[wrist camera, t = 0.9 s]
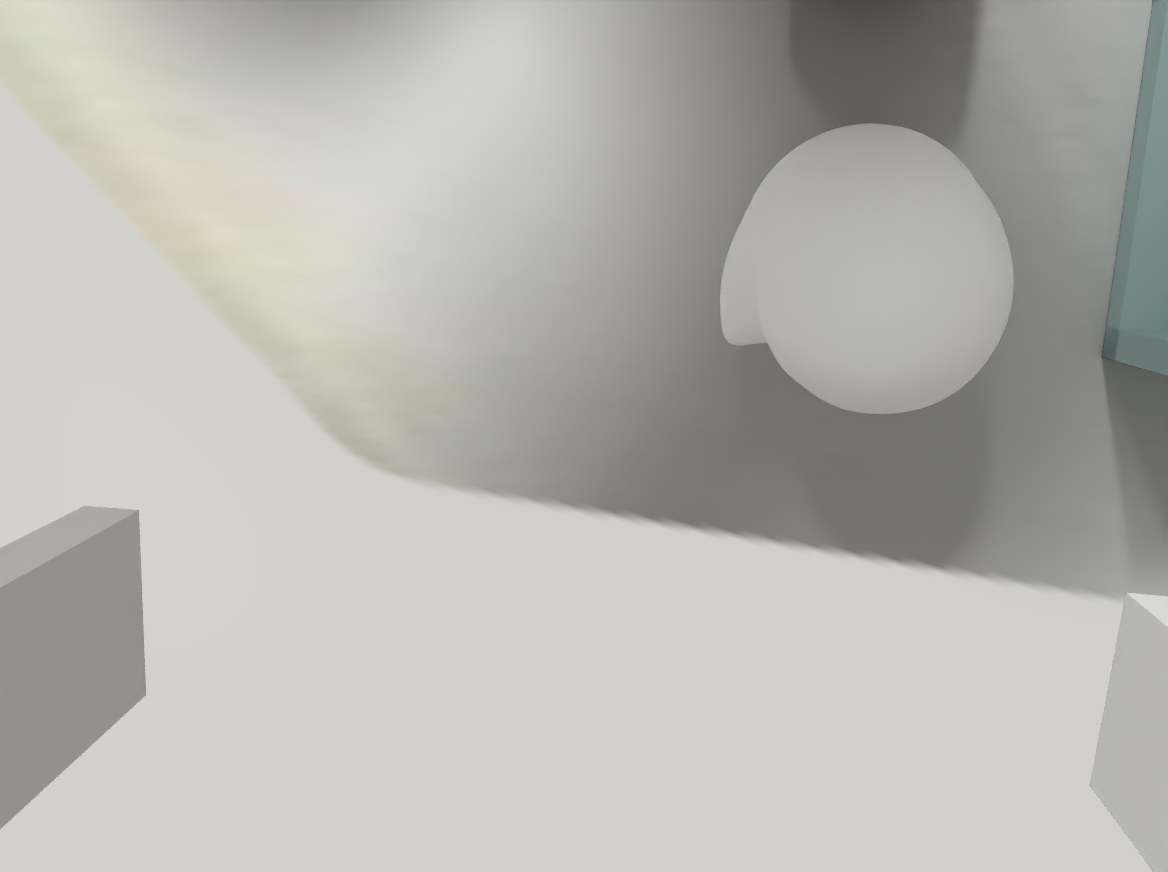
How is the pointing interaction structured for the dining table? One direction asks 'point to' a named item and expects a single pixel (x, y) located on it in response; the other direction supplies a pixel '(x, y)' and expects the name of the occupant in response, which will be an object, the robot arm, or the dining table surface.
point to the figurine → (870, 270)
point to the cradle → (1145, 222)
